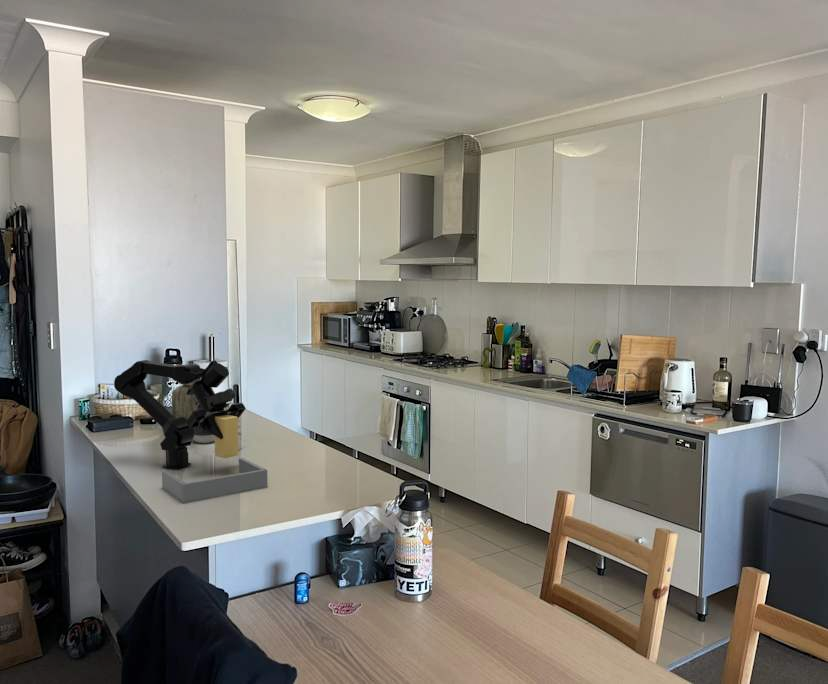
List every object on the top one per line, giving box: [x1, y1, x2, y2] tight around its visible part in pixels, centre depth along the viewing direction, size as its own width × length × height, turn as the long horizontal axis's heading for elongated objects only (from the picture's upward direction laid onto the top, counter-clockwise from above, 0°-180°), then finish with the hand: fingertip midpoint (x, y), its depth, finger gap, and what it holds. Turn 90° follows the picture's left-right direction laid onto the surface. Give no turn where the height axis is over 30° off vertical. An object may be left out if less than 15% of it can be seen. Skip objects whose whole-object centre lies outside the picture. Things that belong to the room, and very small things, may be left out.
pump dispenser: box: [193, 407, 215, 444], centre depth 258 cm, size 10×10×15 cm
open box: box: [161, 457, 268, 504], centre depth 199 cm, size 17×24×6 cm
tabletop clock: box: [171, 382, 199, 420], centre depth 279 cm, size 14×9×25 cm, turn 179°
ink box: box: [238, 416, 242, 450], centre depth 245 cm, size 9×5×12 cm, turn 168°
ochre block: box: [214, 415, 240, 459], centre depth 213 cm, size 5×5×12 cm
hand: (229, 436), depth 212 cm, fingers closed on ochre block, 5 cm apart
